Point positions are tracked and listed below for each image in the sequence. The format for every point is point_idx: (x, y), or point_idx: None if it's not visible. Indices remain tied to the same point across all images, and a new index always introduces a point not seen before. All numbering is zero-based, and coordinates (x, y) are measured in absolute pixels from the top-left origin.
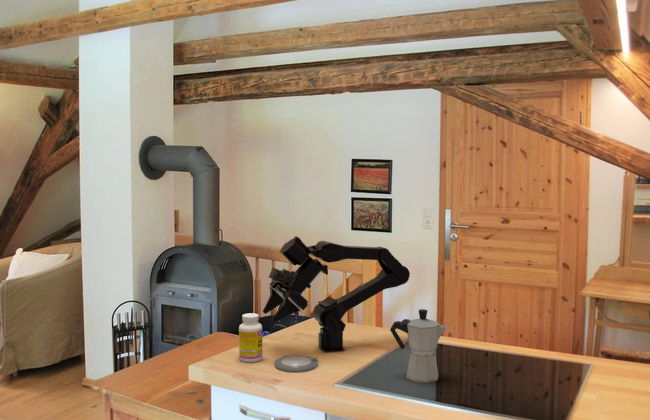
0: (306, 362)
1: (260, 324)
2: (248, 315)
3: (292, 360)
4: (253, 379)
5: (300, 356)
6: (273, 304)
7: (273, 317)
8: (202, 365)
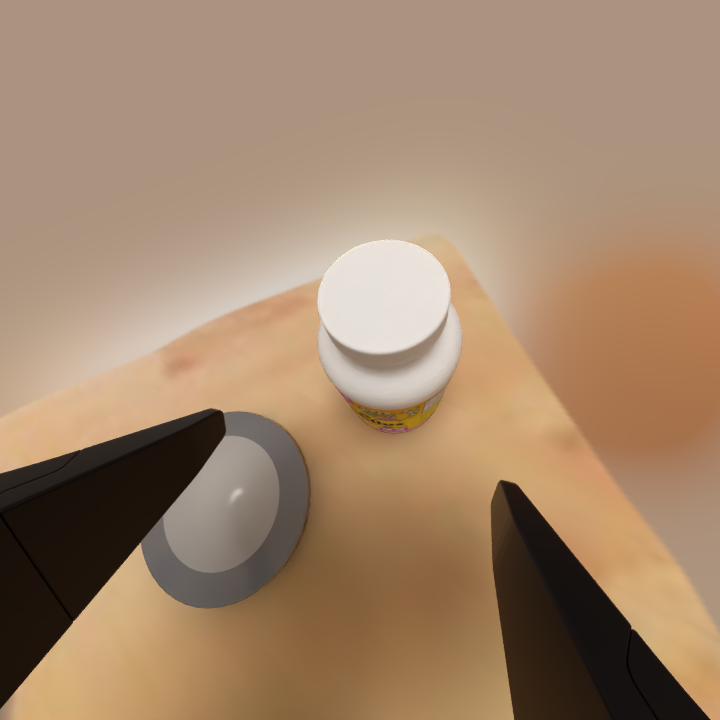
0: (180, 525)
1: (348, 380)
2: (383, 276)
3: (237, 491)
4: (232, 316)
5: (253, 559)
6: (531, 683)
7: (203, 412)
8: (427, 245)
